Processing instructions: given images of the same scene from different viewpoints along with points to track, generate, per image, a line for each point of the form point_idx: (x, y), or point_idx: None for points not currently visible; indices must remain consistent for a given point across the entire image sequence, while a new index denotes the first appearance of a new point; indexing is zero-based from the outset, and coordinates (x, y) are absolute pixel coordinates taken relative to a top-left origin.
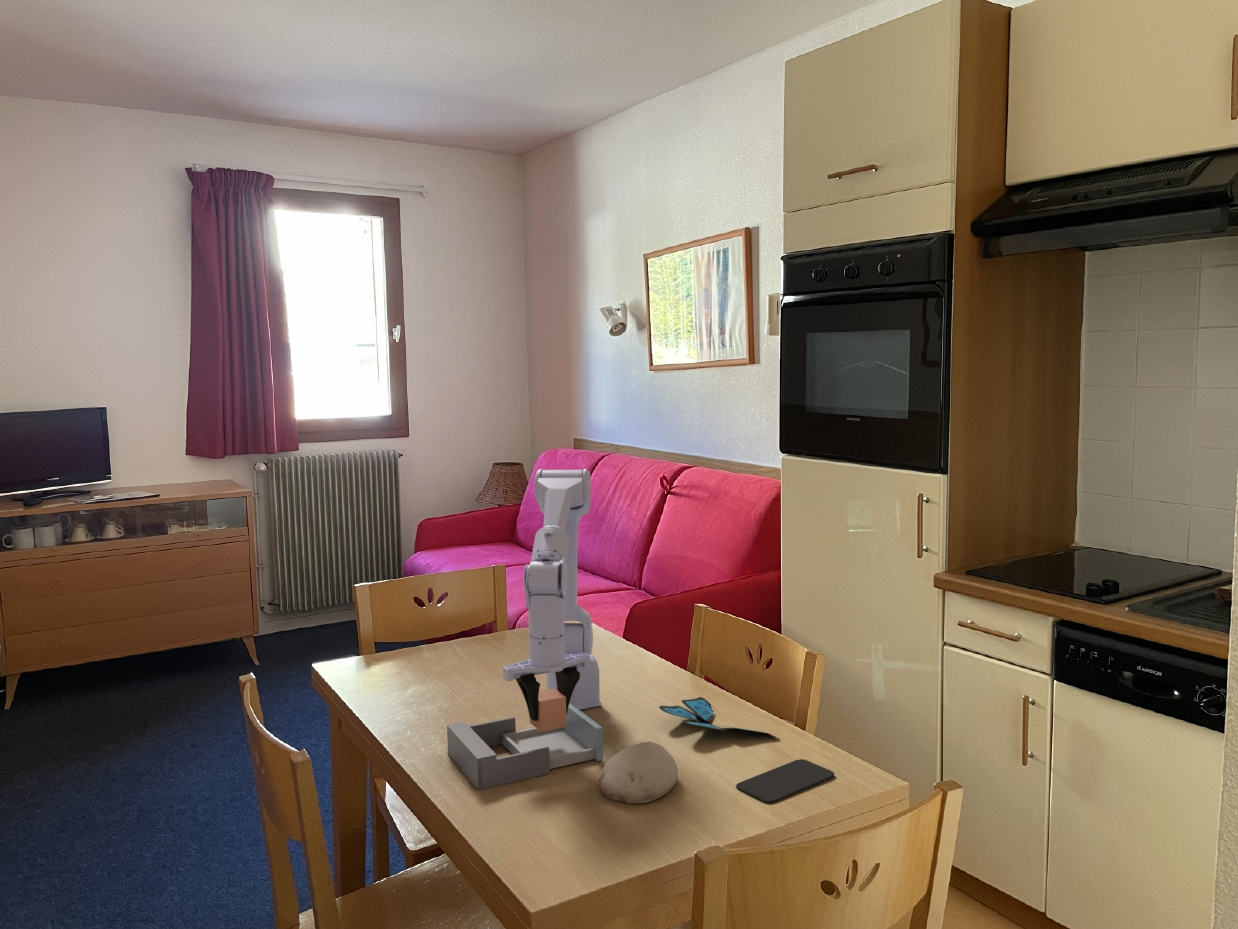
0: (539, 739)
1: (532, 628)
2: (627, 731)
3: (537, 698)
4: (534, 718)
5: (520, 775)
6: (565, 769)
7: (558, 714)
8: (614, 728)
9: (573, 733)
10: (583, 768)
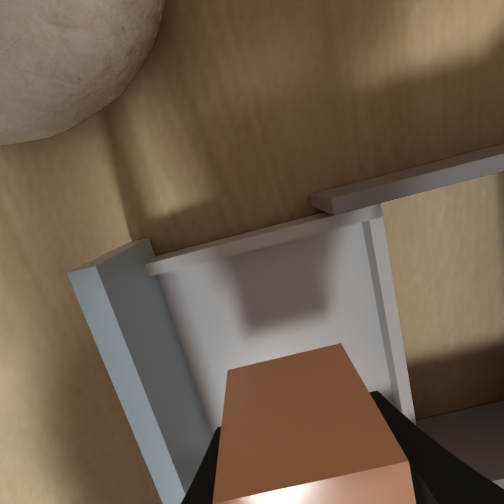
0: None
1: None
2: (33, 425)
3: (438, 492)
4: (384, 398)
5: (415, 168)
6: (256, 213)
7: (264, 404)
8: (70, 451)
9: (196, 407)
10: (199, 205)
